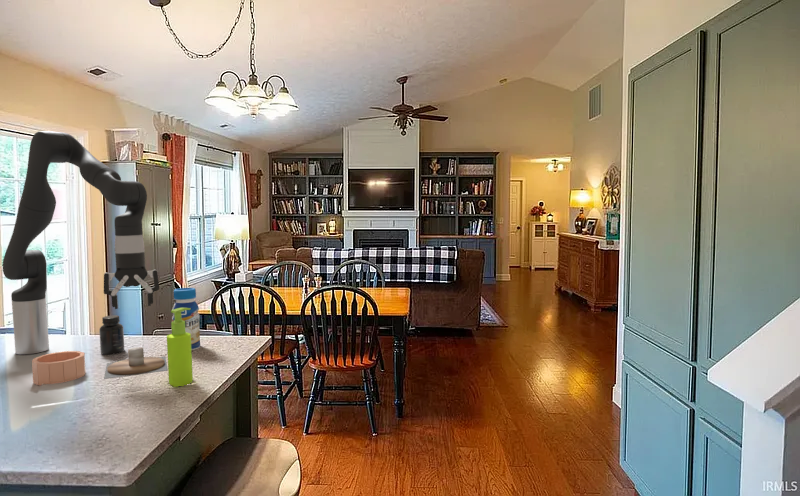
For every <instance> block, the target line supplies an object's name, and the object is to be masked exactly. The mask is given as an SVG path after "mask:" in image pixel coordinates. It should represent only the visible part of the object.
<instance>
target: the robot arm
mask: <svg viewBox="0 0 800 496" xmlns="http://www.w3.org/2000/svg"><path fill="white" fill-rule="evenodd" d="M65 163H68V164H71V165H74V166H77V168H78V169H79V174H80V175H81V177H82V178H83V179H82V180H84V181H85V182H86V183H88V184H89V185H90V186H92V187H93V188H95V189H97V190H98V191H99V192H100V194H101V195H102V196H103V198H104V199H105V200H106V201H107V202H109V203H110V204H112V205H114V206H117V207H118V206H119V207H124V206H125V207H126V208H125V211H124V212H123V213H121V214H118V215H116V216H115V218H114V235H115V237H114V252H115V255H114V256H115V272H104V274H103V294H104V295H109V296H110V297H111V306H112V308H114V309H115V310H118V309H119V302H118V295H117V294H118V292H120V289H121V288H122V287H125V288H129V287H140V286H141V287H143V289H145V290H146V292H147V293H146V294H147V306H148V307H151V305H153V303H154V293H155V292H156V291H159V290H160V284H159V275H158V274H159V273H158V270H157V269H152V270H147V269H146V257H145V255H146V254H145V253H146V252H145V240H144V236H143V234H144V233H143V218H144V214H145V209H146V206H147V205H146V204H147V201H148V200H147V199H148V194H147V189H146V187H145V186H144V184H143V183H142V182H140V181H136V180H135V181H132V180H122V177H121V175H120V174H119V173H118V172H117V171H115V170H114V169H113V168H111V167H109V166H108V165H106V164H105V163H103V162H101V161H100V160H99V159H98V158H96V157H95V156H94V155H93V154H92V153H91V152H90V151H89V150H88V149H87V148H86V147H85V146H83V145H82V144H81V143H80V142H79V141H78V140H77V139H76V138H75V137H74V136H73V135H71V134H70V133H67V132H64V131H63V132H62V131H52V130H51V131H48V130H39V131H37V132H35V133H34V135H32V137H31V141H30V145H29V152H28V161H27V169H26V173H25V174H26V175H25V180H24V185H23V189H22V193H21V197H20V200H19V204H18V208H17V213H16V219H15V224H14V226H13V230H12V234H11V237H10V240H9V242H8V245H7V248H6V250H5V253H4V255H3V260H2V273H3V275H4V277H5V278H6V279H7V280H11V281H18V280H20V281H21V280H26V279H27V282H26V283H24V285H23V286H21V287H20V288H18V289H15V290H14V291H12V292H11V296H10V297H11V310H12V322H13V325H12V326H13V337H14V338H13V339H14V352H15V354H16V355H32V354H33V355H34V354H37V353H43V352H46V351H49V350H50V341H49V340H50V339H49V327H48V326H49V325H48V324H49V323H48V311H47V308H48V307H47V298H46V294H47V293H46V292H47V289H48V288H47V287H48V286H47V285H48V282H47V277H48V276H47V274H48V272H47V269H48V268H47V267H48V266H47V259H46V256H45V254H44V253H43V251H42V250H38V249H29V250H28V248H29V247H30V245H31V243H32V242H33V241H34V240H35V239H36V238H37V237H38V236H39V235H40V234H41V233H43V231H44V230H46V229H47V228H48V226H49V225H50V224H51V222H52V221H53V218H54V213H55V210H56V206H57V205H56V204H57V200H56V195H55V194H54V191H53V189H52V187H51V185H50V183H49V181H48V170H49V166H50V164H65ZM147 276H150V278H151V279H153V285H154V286H152V287H151V286H150V285H149V284H148V282H146V280H145V279H146V278H147ZM113 278H115V279H116V280H117V281H118V283H117V284H116V286H115V287H114V288H113V289H112V290H111V289H110V281H112V280H113Z"/></svg>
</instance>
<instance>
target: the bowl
mask: <svg viewBox="0 0 800 496" xmlns="http://www.w3.org/2000/svg"><path fill="white" fill-rule="evenodd" d="M85 358H86V353H85V352H83V351H79V350H65V351H55V352H52V353H51V352H50V353H47V354H42V355H39V356H37V357H33V359H32V360H31V366H32V367H31V368H32V369H31V371H32V382H33V383H32V384H33V385H36V386H43V385H54V384H59V383H60V384H61V383H66V382H70V381H75V380H78V379H80V378H82V377H84V376H86V373H87V371H86V369H87V368H86V359H85Z"/></svg>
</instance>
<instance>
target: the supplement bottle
mask: <svg viewBox="0 0 800 496" xmlns="http://www.w3.org/2000/svg"><path fill="white" fill-rule="evenodd" d="M120 322H121V321H120V316H119V315H117V314H115V315H114V314H113V315H107V316H102V323H101V324H102V325H101V326H100V327H99V331H98V332H99V348H100V349H99V350H100V354H101V355H104V356H110V355H111V356H112V355H117V354H121V353H124V351H125V337H124V336H125V335H124V334H125V333H124V326H123V324H121V323H120Z"/></svg>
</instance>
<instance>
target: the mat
mask: <svg viewBox="0 0 800 496" xmlns="http://www.w3.org/2000/svg"><path fill="white" fill-rule="evenodd" d="M158 358H162V359H164V361H165V364H164V366H162V367H161V368H159V369H156V370H153V371H149V372H145V373H140V374H131V375H115V374H110V373H108V371H107V367H108V366H109V365H111V364H113V363H114V362H109V363H106V366H105V372H104V376H103V379H104V380H107V379H114V378H115V379H116V378H121V377H129V376H136V375H144V374H152V373H153V374H154V373H159V372H167V371H168V362H167V357H166V355H165V356H158Z"/></svg>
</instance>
